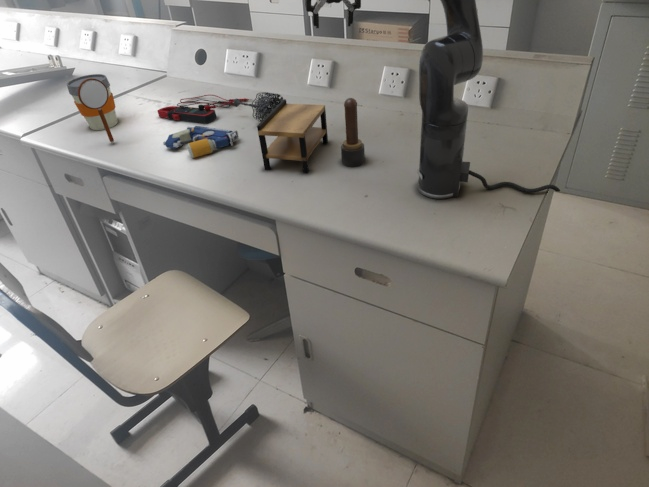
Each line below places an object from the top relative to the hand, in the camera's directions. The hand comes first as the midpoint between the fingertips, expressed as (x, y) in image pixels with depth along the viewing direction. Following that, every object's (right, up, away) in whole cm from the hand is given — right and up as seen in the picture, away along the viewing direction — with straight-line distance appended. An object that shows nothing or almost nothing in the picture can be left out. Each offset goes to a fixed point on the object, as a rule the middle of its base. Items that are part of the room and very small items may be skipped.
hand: (332, 26), depth 122 cm
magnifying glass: (-68, -27, +20) cm, 76 cm away
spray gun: (-39, -30, +13) cm, 50 cm away
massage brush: (-21, -19, +24) cm, 37 cm away
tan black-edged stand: (-10, -34, +3) cm, 36 cm away
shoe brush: (+5, -37, -2) cm, 37 cm away
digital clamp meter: (-44, -12, +37) cm, 59 cm away
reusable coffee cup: (-77, -18, +33) cm, 86 cm away
